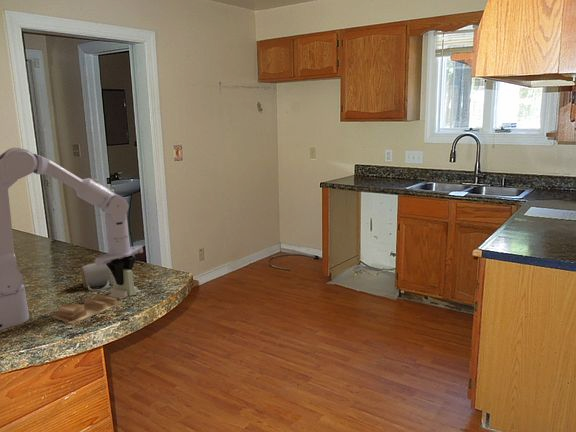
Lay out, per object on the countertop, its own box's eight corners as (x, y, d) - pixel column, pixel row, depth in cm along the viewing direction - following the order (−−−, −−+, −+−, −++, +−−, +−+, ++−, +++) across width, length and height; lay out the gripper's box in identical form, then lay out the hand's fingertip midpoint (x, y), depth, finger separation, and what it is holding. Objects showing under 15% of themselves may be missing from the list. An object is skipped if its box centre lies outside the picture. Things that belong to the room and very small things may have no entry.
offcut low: (72, 320, 116) (71, 316, 116) (57, 316, 119) (57, 311, 119) (86, 314, 119) (86, 310, 119) (72, 310, 122) (71, 306, 122)
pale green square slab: (130, 295, 131) (127, 272, 130) (114, 291, 135) (111, 268, 133) (134, 293, 132) (132, 270, 131) (118, 289, 136) (116, 266, 135)
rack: (72, 327, 114) (71, 317, 114) (51, 320, 119) (49, 310, 119) (123, 305, 127) (122, 297, 126) (101, 299, 132) (100, 291, 131)
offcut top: (73, 315, 116) (72, 310, 116) (58, 312, 118) (58, 308, 118) (84, 309, 119) (83, 305, 119) (70, 307, 121) (69, 302, 121)
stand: (121, 302, 129) (120, 293, 129) (107, 298, 133) (106, 290, 132) (141, 293, 135) (140, 285, 135) (127, 290, 138) (126, 282, 138)
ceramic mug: (82, 285, 144) (79, 261, 142) (110, 280, 148) (107, 257, 146) (85, 297, 135) (81, 271, 133) (114, 291, 138) (112, 266, 137)
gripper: (105, 244, 122) (110, 293, 125) (148, 232, 134) (152, 277, 137) (88, 241, 126) (94, 289, 129) (131, 229, 138) (136, 273, 141)
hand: (123, 283), depth 133 cm, fingers closed on pale green square slab, 2 cm apart
